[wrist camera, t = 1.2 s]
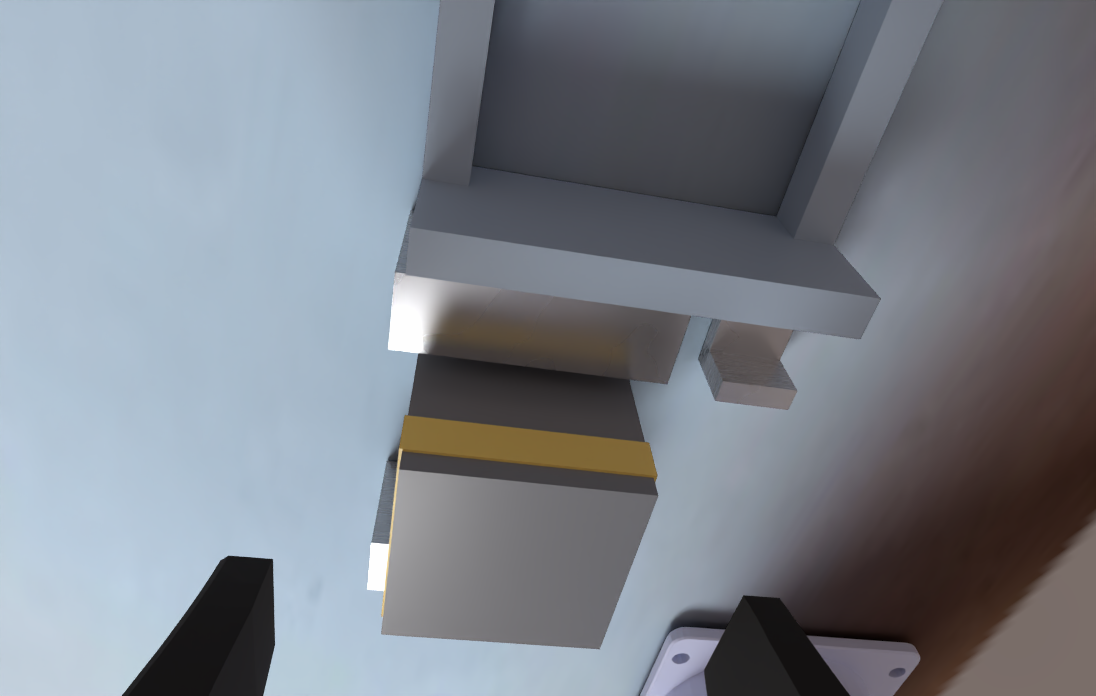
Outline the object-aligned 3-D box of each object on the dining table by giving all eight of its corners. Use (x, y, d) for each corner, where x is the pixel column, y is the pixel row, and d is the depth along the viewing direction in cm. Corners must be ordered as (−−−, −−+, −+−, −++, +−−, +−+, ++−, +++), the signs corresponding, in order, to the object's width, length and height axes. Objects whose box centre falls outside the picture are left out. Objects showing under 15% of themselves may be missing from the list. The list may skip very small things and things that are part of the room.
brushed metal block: (579, 523, 19) (589, 606, 17) (382, 505, 18) (367, 589, 16) (663, 249, 14) (691, 314, 12) (410, 210, 14) (394, 272, 12)
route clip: (766, 368, 16) (788, 409, 15) (698, 358, 16) (715, 401, 15) (807, 274, 15) (834, 310, 14) (733, 262, 15) (756, 299, 13)
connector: (577, 465, 18) (601, 650, 13) (407, 447, 17) (378, 636, 13) (618, 324, 15) (662, 493, 11) (425, 297, 15) (395, 466, 11)
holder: (798, 258, 15) (860, 339, 12) (423, 199, 14) (405, 275, 11) (994, -202, 11) (1146, -221, 8) (479, -343, 9) (472, -417, 7)
